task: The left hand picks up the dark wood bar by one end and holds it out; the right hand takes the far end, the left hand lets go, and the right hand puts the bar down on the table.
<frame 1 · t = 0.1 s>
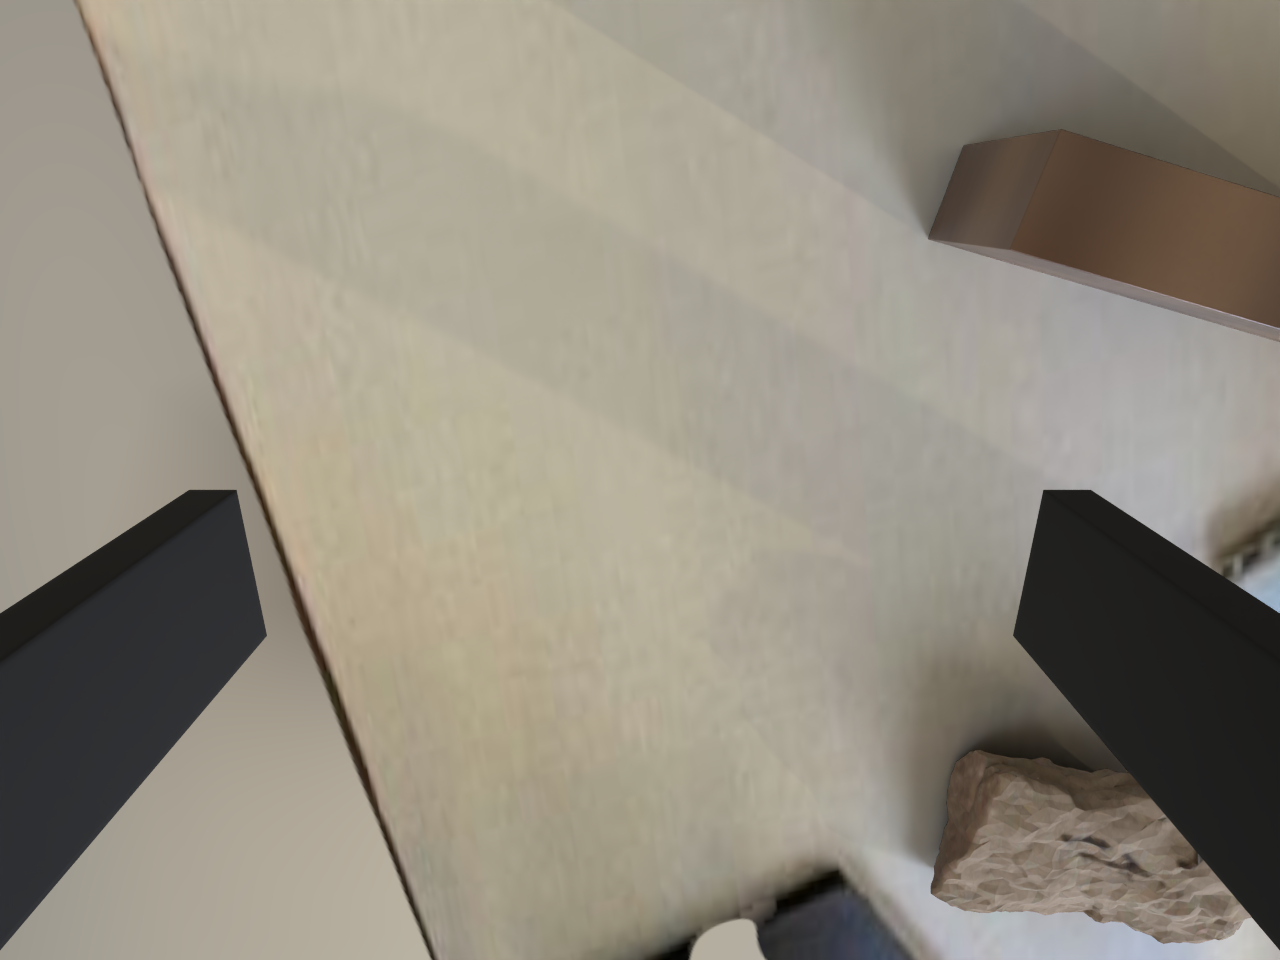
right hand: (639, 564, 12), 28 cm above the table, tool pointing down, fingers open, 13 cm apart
stone: (1085, 812, 51), on the table
bar: (1171, 260, 38), on the table
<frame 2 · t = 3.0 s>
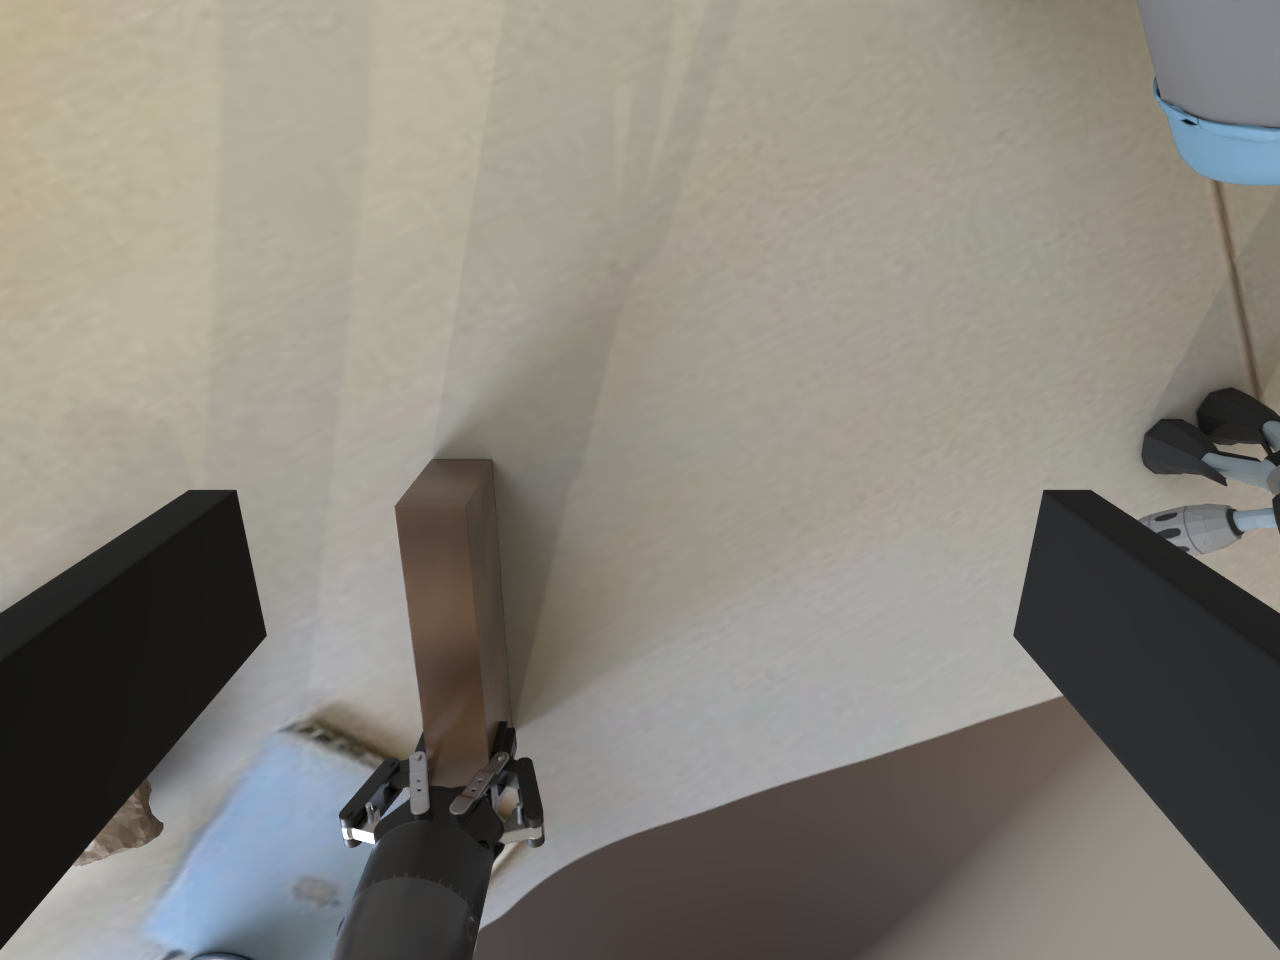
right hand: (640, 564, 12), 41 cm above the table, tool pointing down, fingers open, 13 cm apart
left hand: (473, 730, 58), fingers closed on bar, 4 cm apart
stone: (89, 733, 64), on the table
bar: (475, 606, 59), on the table, touching left hand
robot: (1193, 429, 54), on the table
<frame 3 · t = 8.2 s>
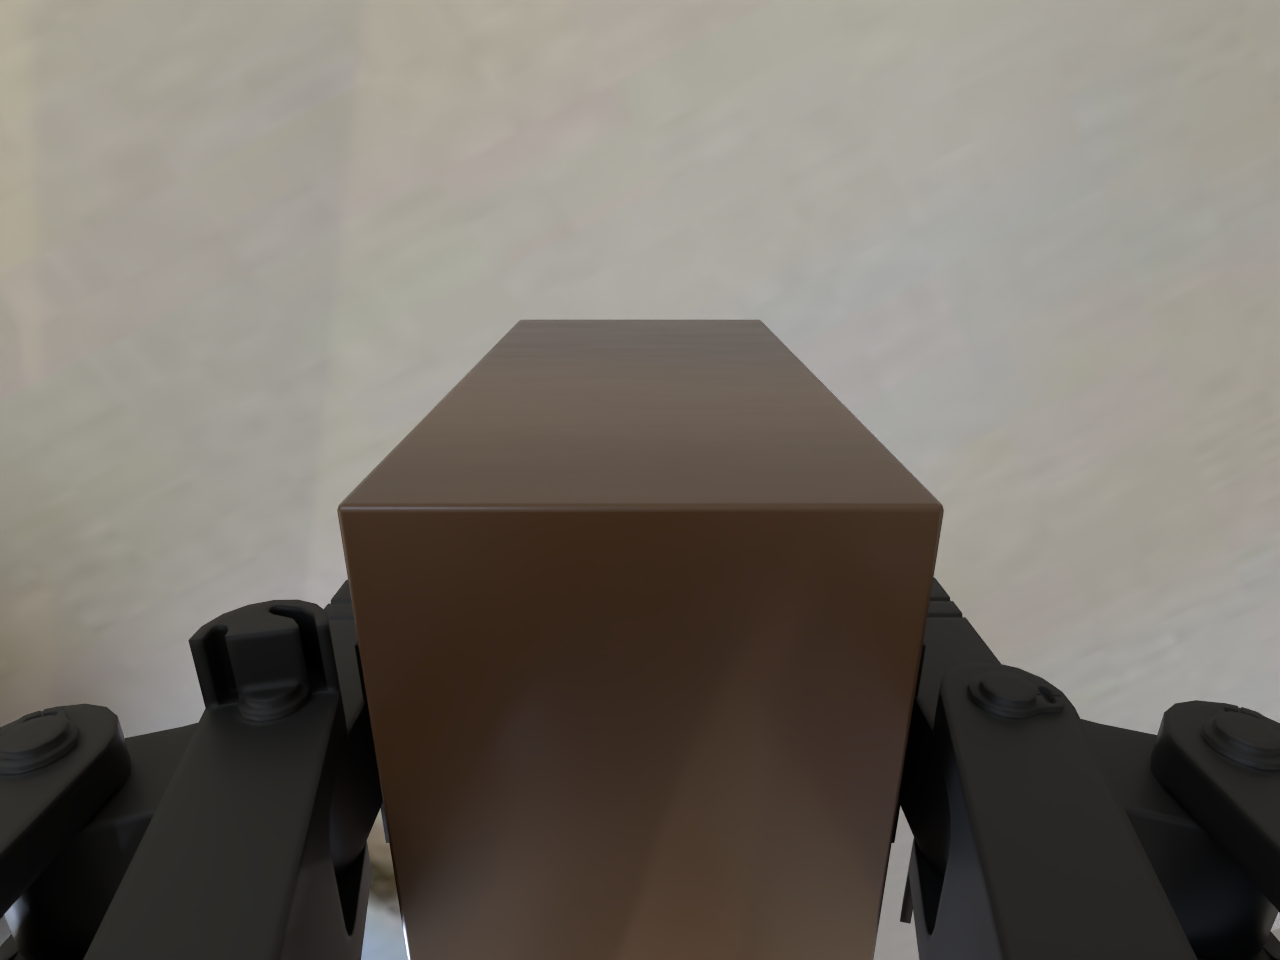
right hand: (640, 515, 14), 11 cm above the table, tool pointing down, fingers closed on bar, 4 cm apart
bar: (640, 834, 18), point 10 cm above the table, touching right hand, left hand
when the left hand's fingers open (15 cm above the table, at t = 9.1 s): bar stays where it is, held by the right hand.
when the right hand's fingers open (2 cm above the table, at t = 14.1 s): bar drops 1 cm, on the table.
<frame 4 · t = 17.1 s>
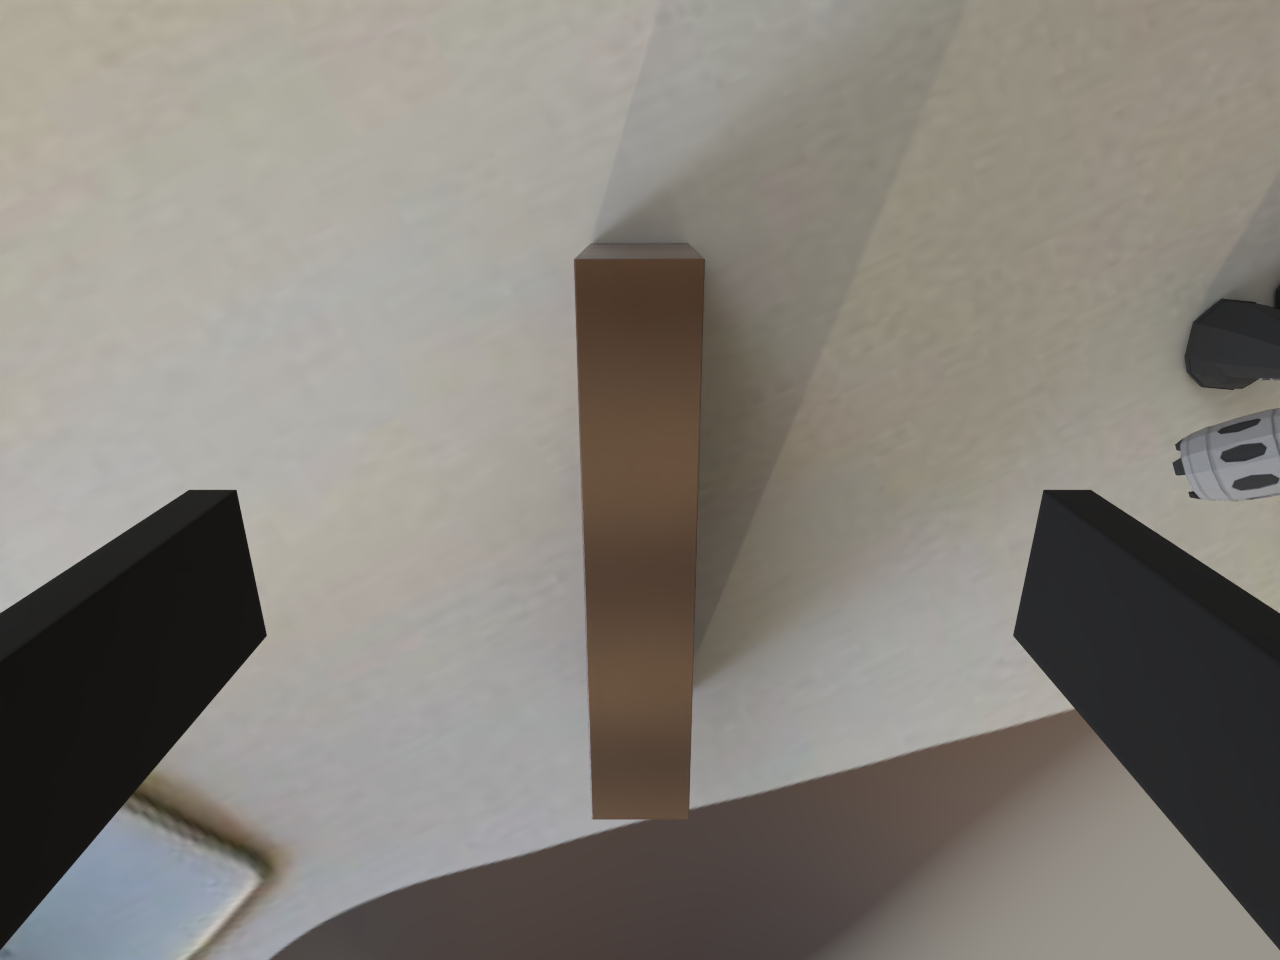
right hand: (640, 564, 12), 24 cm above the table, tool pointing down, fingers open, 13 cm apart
bar: (639, 497, 38), on the table
robot: (1267, 320, 35), on the table
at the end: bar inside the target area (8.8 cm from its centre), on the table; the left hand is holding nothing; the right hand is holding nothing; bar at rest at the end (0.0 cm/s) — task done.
